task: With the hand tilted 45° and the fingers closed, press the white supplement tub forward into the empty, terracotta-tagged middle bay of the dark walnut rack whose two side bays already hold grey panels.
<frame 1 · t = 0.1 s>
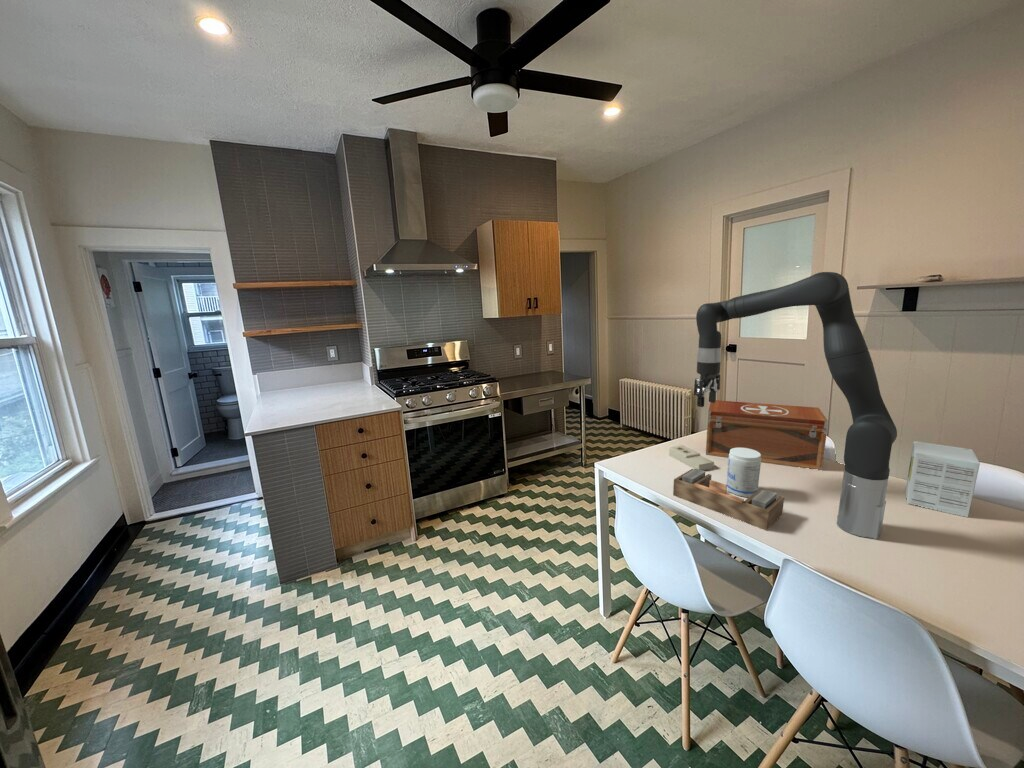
hand: (706, 404, 140), 29 cm above the table, tool pointing down, fingers open, 8 cm apart
wooden box: (759, 454, 166), on the table
supplement box: (934, 502, 123), on the table
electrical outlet: (690, 462, 162), on the table
rack: (724, 504, 128), on the table
supplement tub: (741, 491, 136), on the table
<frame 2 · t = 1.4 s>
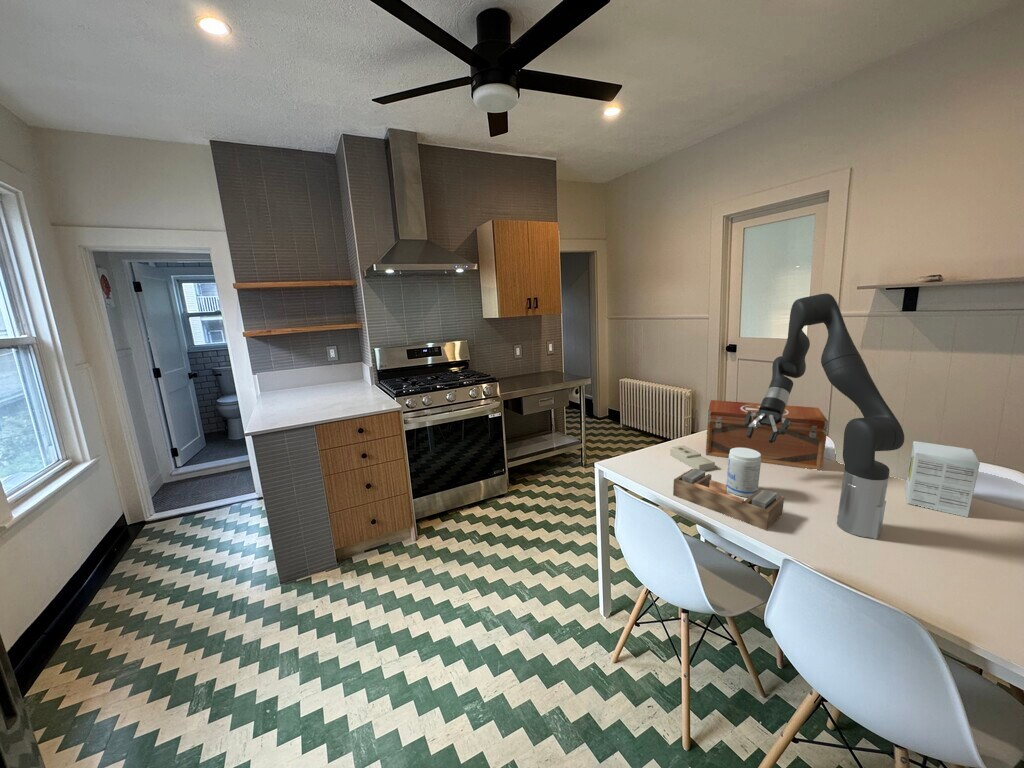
hand: (759, 439, 140), 16 cm above the table, tool tilted 45°, fingers open, 6 cm apart
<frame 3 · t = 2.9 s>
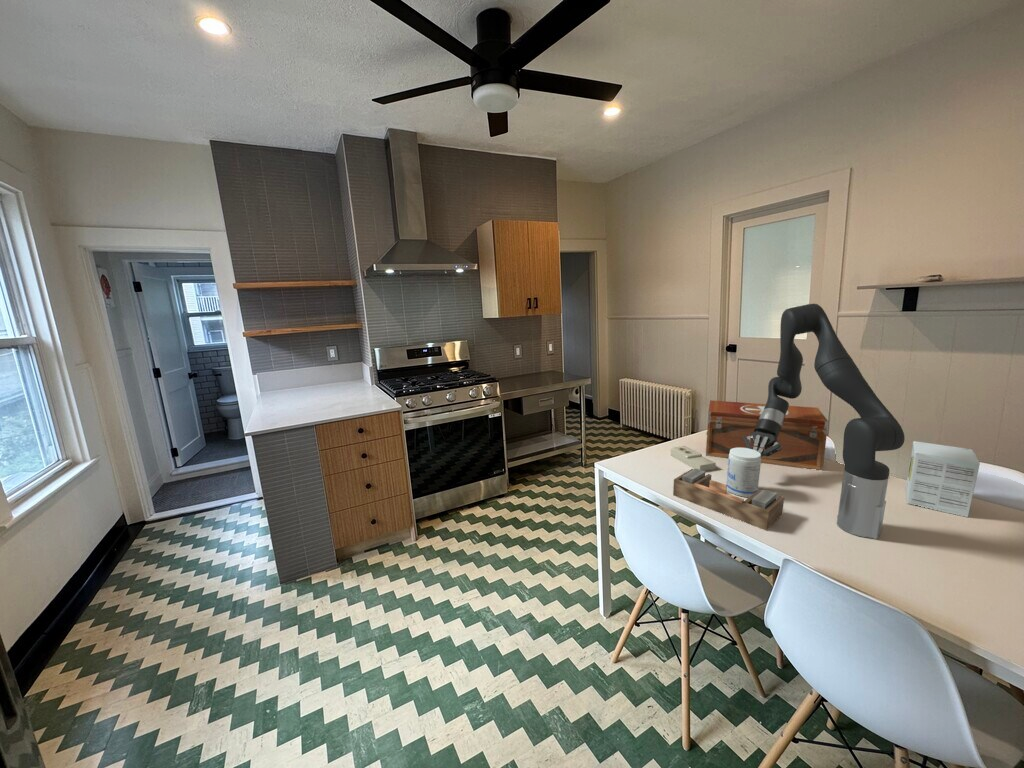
hand: (753, 463, 139), 8 cm above the table, tool tilted 45°, fingers closed
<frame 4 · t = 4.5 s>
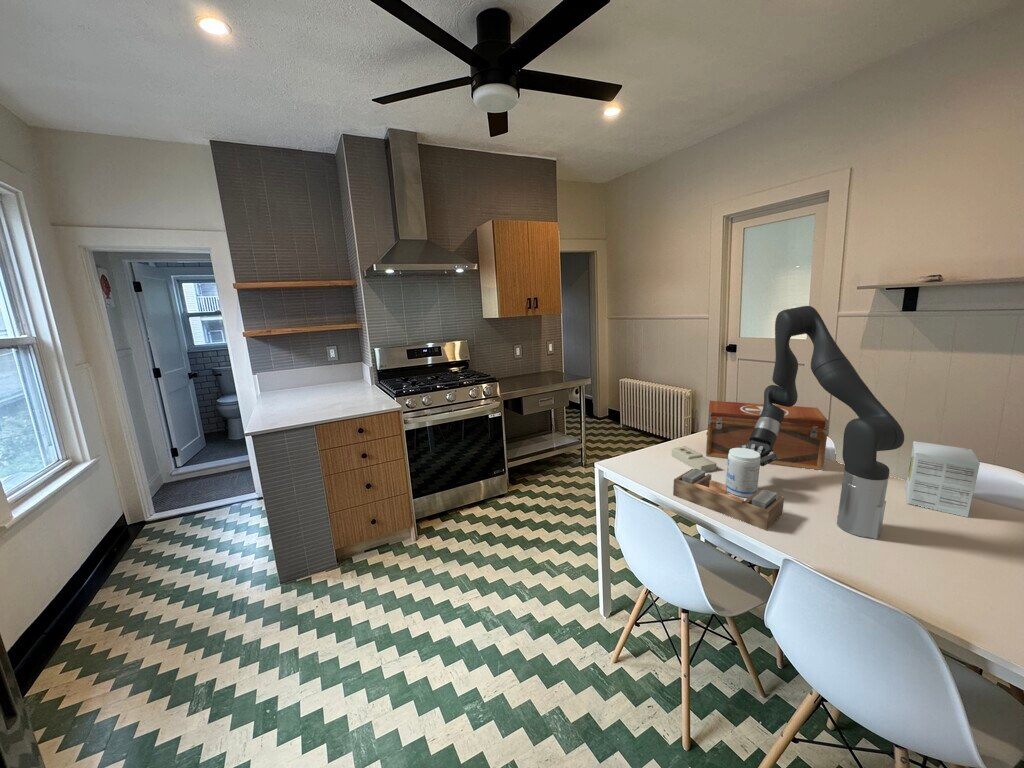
hand: (748, 473, 137), 5 cm above the table, tool tilted 45°, fingers closed
supplement tub: (741, 492, 135), on the table, touching gripper
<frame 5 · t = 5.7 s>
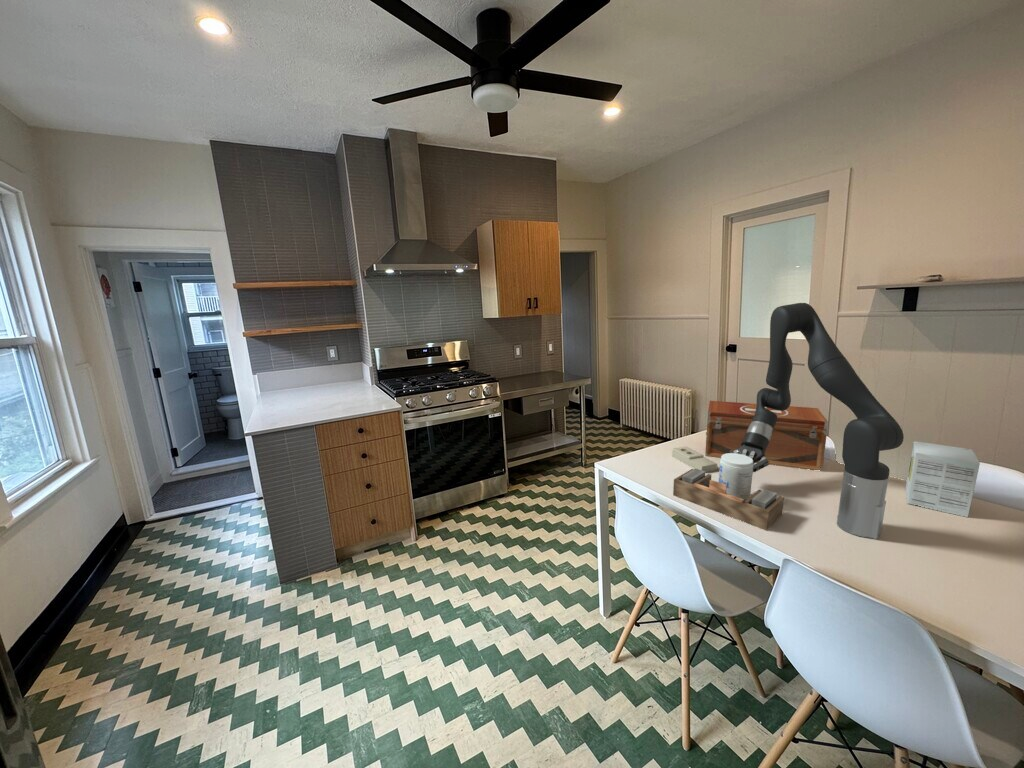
hand: (739, 479, 133), 5 cm above the table, tool tilted 45°, fingers closed
supplement tub: (733, 499, 131), on the table, touching gripper
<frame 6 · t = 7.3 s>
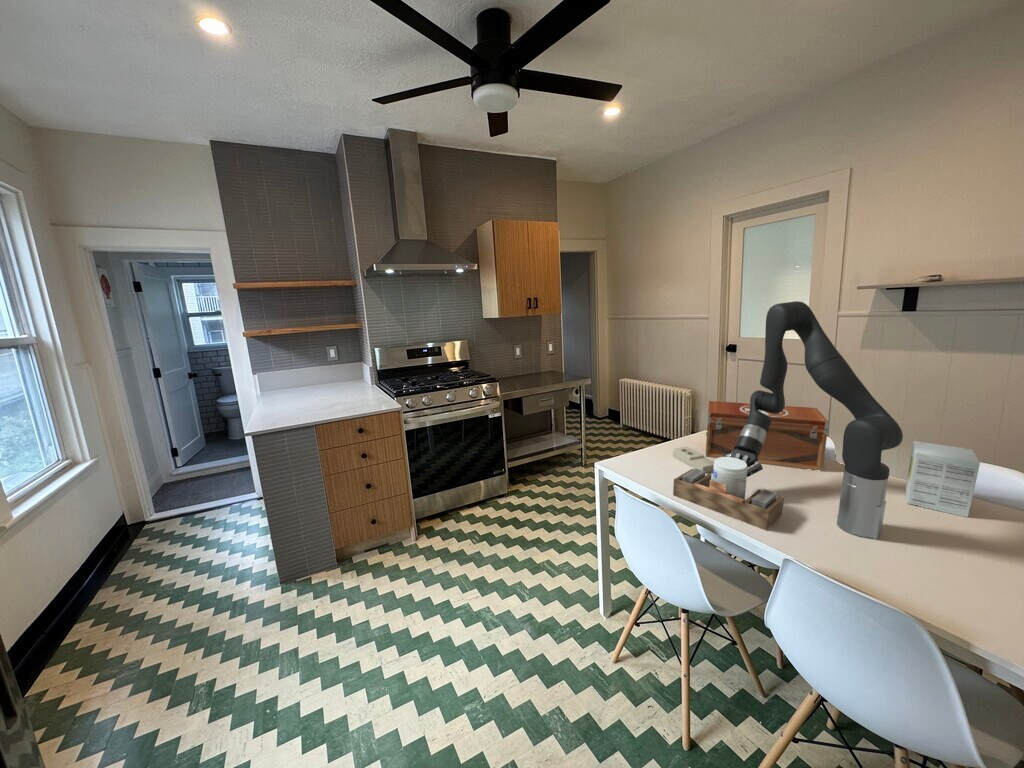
hand: (732, 484, 130), 5 cm above the table, tool tilted 45°, fingers closed
supplement tub: (727, 503, 128), on the table, touching gripper
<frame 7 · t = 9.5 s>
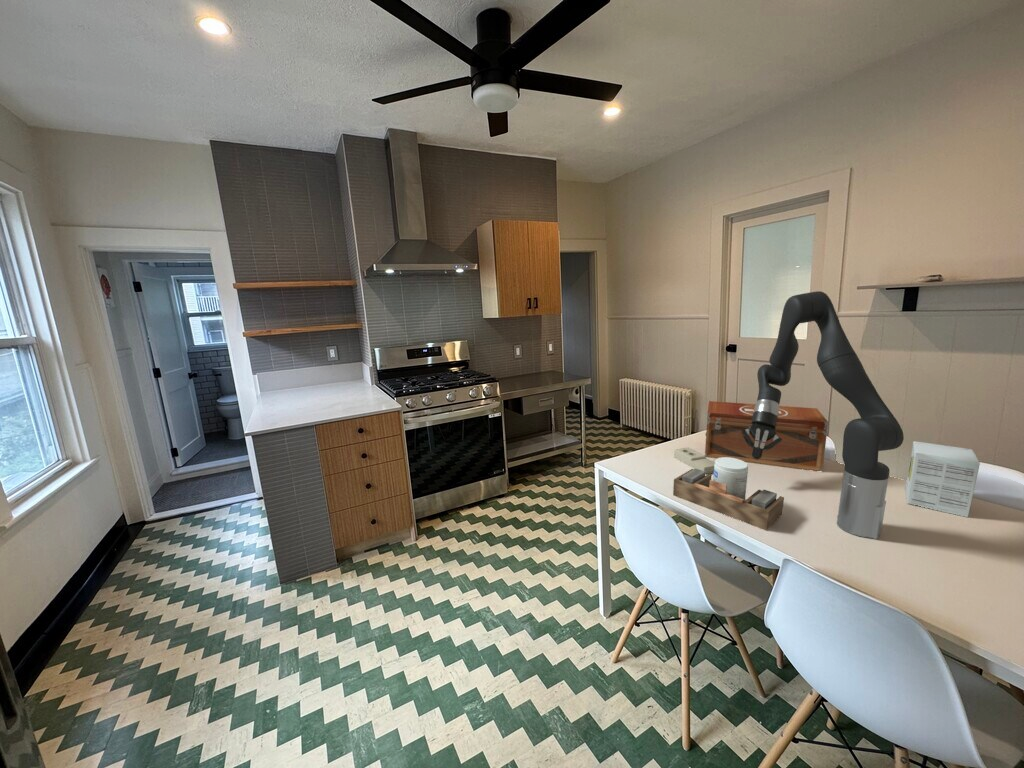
hand: (756, 458, 136), 11 cm above the table, tool tilted 40°, fingers closed
supplement tub: (727, 504, 128), on the table
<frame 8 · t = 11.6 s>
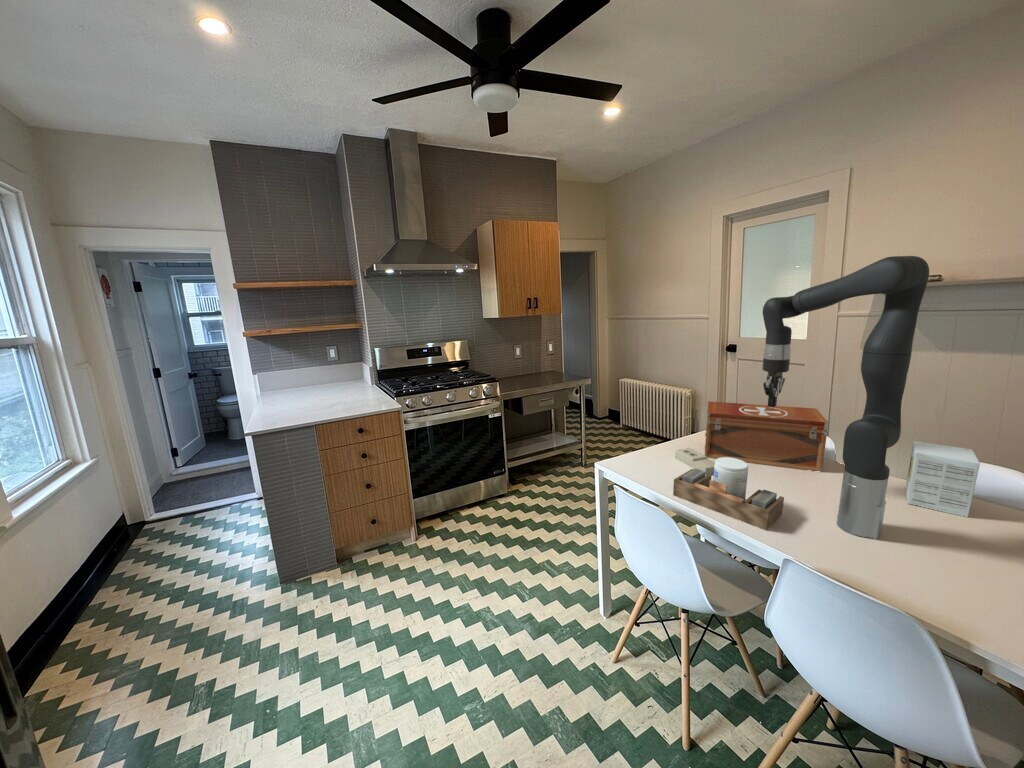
hand: (771, 406, 134), 29 cm above the table, tool pointing down, fingers closed
at the end: supplement tub inside the target area on the rack (0.9 cm from its centre), point 0.0 cm above the rack's base; supplement tub tilted 0°; supplement tub moved 12.0 cm from its start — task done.
